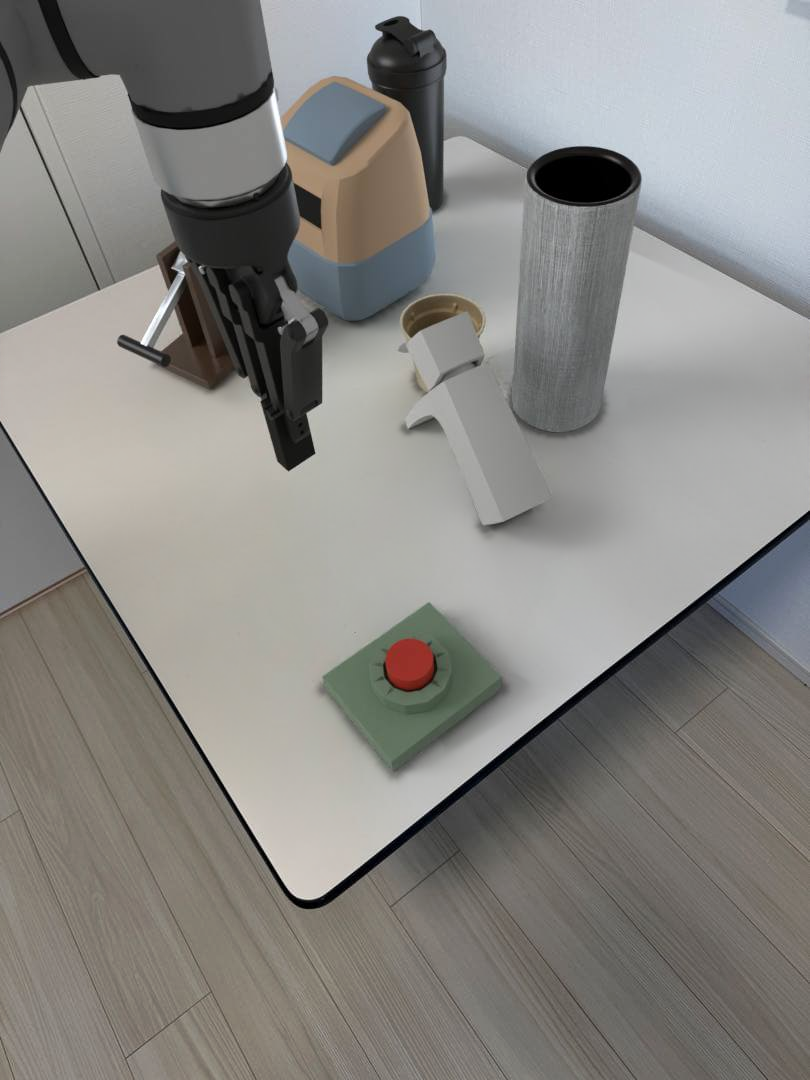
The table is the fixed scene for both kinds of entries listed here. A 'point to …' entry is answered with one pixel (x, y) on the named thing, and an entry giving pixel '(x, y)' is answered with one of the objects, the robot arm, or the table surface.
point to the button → (409, 664)
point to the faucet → (475, 420)
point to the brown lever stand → (194, 330)
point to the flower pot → (438, 316)
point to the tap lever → (159, 320)
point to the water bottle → (414, 89)
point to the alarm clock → (357, 199)
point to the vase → (571, 282)
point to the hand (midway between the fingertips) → (296, 457)
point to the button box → (412, 715)
